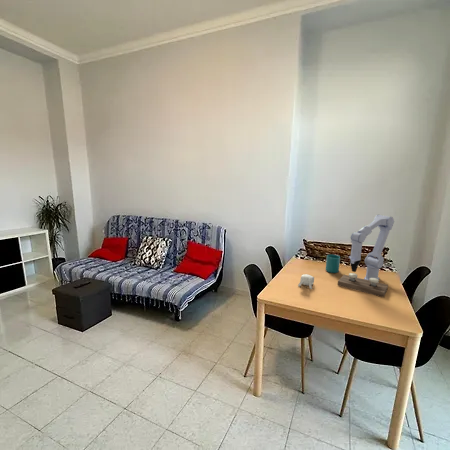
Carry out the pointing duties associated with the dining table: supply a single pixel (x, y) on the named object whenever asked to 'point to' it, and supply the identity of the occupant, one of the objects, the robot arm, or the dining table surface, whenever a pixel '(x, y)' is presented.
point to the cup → (332, 263)
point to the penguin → (306, 280)
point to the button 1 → (352, 276)
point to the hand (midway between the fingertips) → (353, 271)
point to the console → (363, 286)
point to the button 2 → (373, 281)
